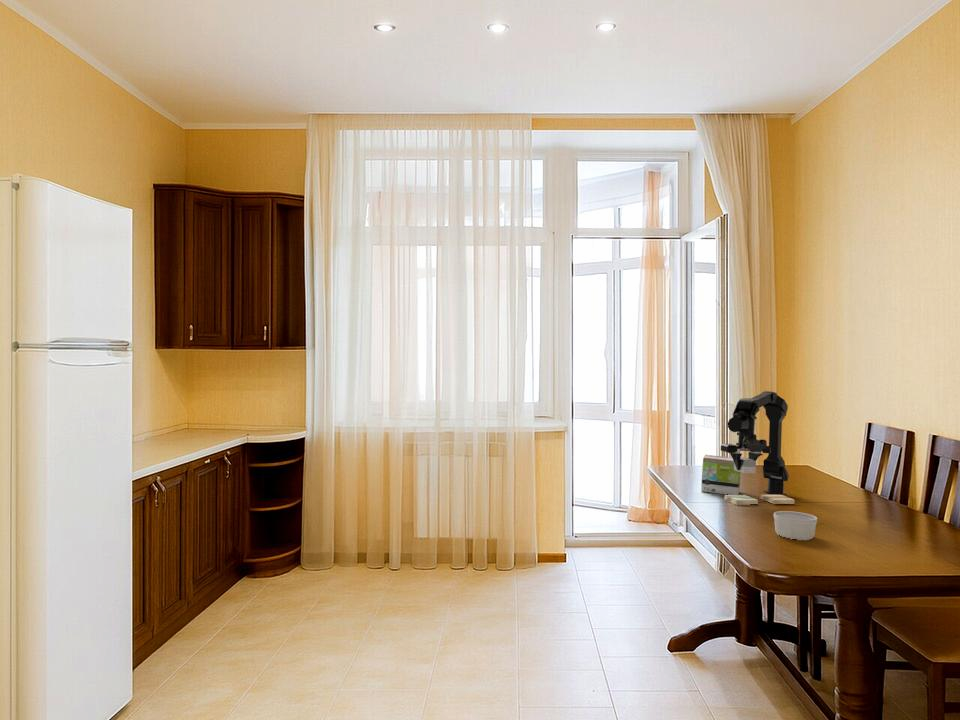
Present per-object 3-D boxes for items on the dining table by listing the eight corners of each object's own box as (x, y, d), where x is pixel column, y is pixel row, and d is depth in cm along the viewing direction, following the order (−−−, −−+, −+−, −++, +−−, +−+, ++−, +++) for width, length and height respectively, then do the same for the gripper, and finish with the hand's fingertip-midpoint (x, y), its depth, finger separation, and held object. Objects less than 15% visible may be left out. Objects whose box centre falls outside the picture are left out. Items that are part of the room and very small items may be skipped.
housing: (733, 469, 287) (734, 457, 286) (745, 470, 288) (745, 457, 288) (743, 473, 280) (744, 460, 280) (755, 473, 281) (756, 460, 281)
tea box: (700, 492, 302) (702, 457, 301) (702, 488, 311) (704, 454, 310) (738, 496, 296) (740, 460, 295) (739, 491, 305) (741, 457, 305)
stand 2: (760, 499, 291) (760, 494, 291) (780, 499, 293) (780, 494, 293) (773, 504, 282) (774, 499, 282) (794, 504, 284) (794, 499, 284)
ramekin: (766, 530, 243) (767, 509, 243) (806, 531, 243) (807, 511, 243) (781, 541, 230) (782, 519, 230) (823, 543, 230) (824, 521, 229)
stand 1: (724, 499, 288) (724, 495, 288) (744, 499, 290) (745, 494, 290) (736, 505, 279) (736, 500, 279) (757, 505, 281) (757, 499, 281)
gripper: (736, 433, 274) (734, 473, 274) (780, 434, 277) (777, 474, 278) (720, 429, 285) (718, 468, 285) (763, 430, 288) (761, 469, 289)
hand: (744, 470), depth 284 cm, fingers closed on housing, 5 cm apart
